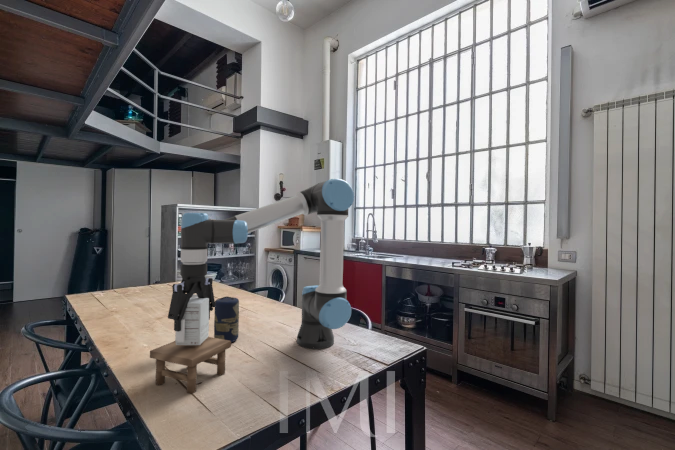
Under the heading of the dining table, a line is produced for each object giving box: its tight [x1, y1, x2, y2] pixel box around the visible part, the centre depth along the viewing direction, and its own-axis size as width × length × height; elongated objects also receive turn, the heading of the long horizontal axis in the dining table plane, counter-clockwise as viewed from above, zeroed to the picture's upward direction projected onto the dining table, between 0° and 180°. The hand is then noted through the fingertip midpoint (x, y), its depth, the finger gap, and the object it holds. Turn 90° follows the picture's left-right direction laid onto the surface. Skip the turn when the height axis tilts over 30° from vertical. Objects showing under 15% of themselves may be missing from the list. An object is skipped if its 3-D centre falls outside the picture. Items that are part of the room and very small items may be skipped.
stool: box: [149, 336, 232, 394], centre depth 99 cm, size 16×16×10 cm
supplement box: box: [176, 298, 210, 345], centre depth 99 cm, size 7×7×13 cm
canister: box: [213, 296, 240, 343], centre depth 131 cm, size 10×10×18 cm
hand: (192, 336), depth 99 cm, fingers closed on supplement box, 9 cm apart
